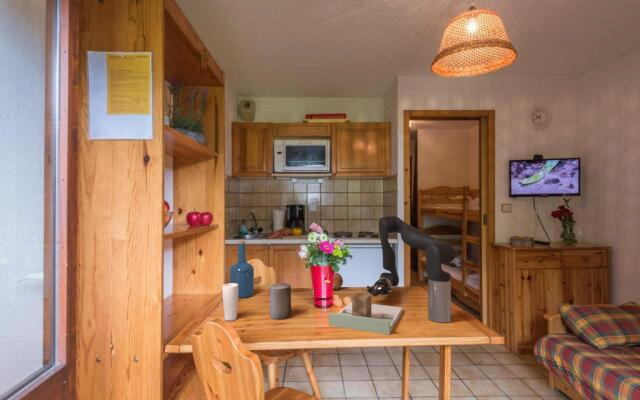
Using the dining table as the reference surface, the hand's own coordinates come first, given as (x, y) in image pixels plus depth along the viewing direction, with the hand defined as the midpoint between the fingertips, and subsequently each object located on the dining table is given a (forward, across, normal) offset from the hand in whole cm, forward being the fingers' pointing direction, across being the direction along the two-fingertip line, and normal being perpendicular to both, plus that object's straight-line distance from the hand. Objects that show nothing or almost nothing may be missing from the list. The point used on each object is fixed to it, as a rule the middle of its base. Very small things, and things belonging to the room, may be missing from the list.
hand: (374, 294), depth 160 cm
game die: (-7, -31, +8) cm, 33 cm away
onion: (-29, -31, +8) cm, 43 cm away
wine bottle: (+3, -73, +8) cm, 74 cm away
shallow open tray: (+11, 0, +8) cm, 14 cm away
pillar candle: (+24, -37, +8) cm, 45 cm away
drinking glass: (+36, -55, +8) cm, 66 cm away
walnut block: (+21, 0, +6) cm, 21 cm away
